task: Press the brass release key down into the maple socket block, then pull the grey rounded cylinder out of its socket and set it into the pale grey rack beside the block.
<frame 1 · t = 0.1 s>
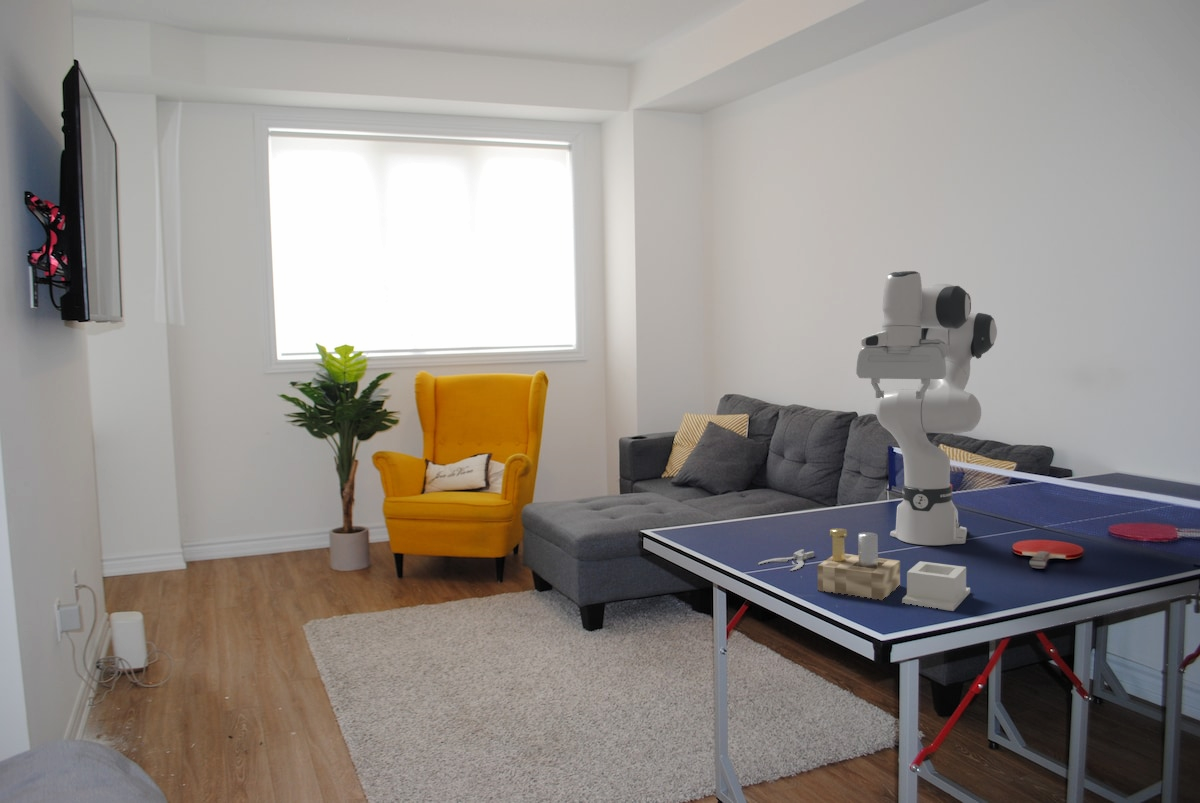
hand: (899, 398, 213), 39 cm above the table, tool pointing down, fingers open, 8 cm apart
release key: (838, 548, 198), point 8 cm above the table, slide at 0.0 cm
pliers: (791, 563, 219), on the table
drill rack: (936, 597, 188), on the table
grey rounded cylinder: (868, 589, 195), resting in socket block
socket block: (859, 587, 196), on the table
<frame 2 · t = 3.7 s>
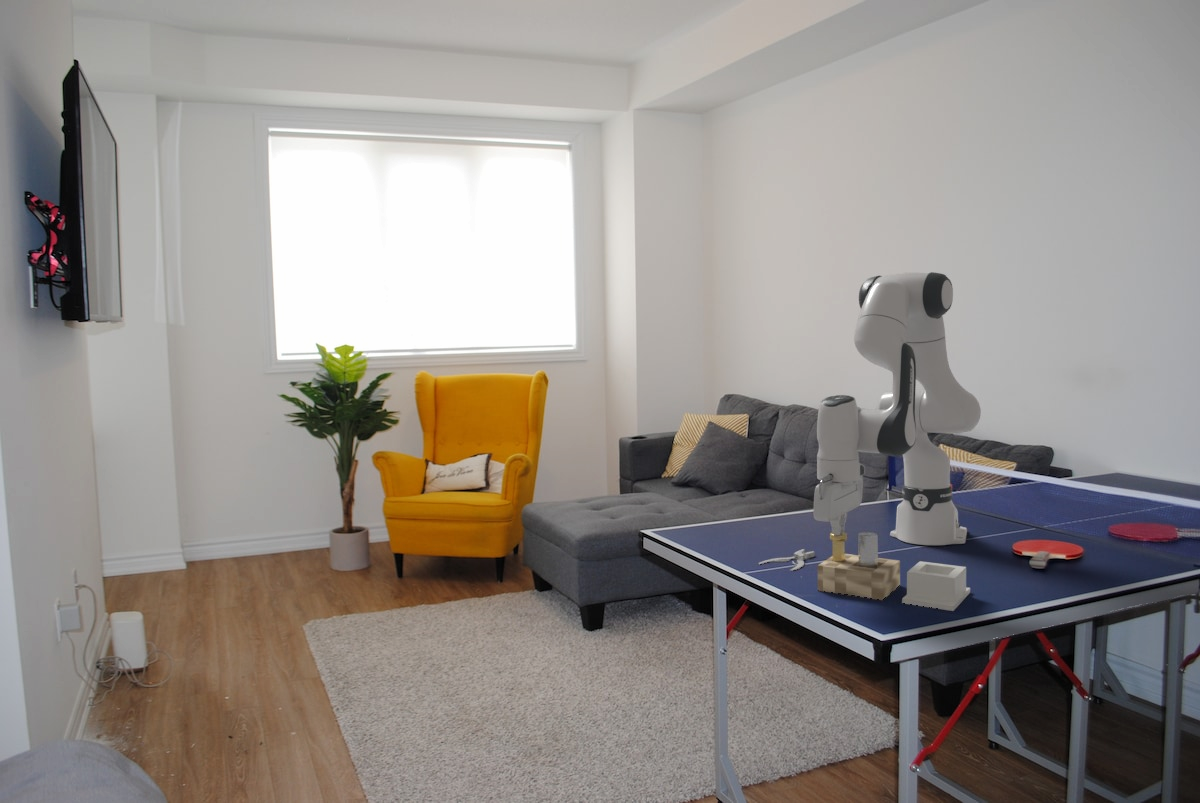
hand: (838, 533, 198), 11 cm above the table, tool pointing down, fingers closed, pressing on release key
release key: (838, 552, 198), point 7 cm above the table, slide at 0.8 cm, touching gripper
everything else where it was.
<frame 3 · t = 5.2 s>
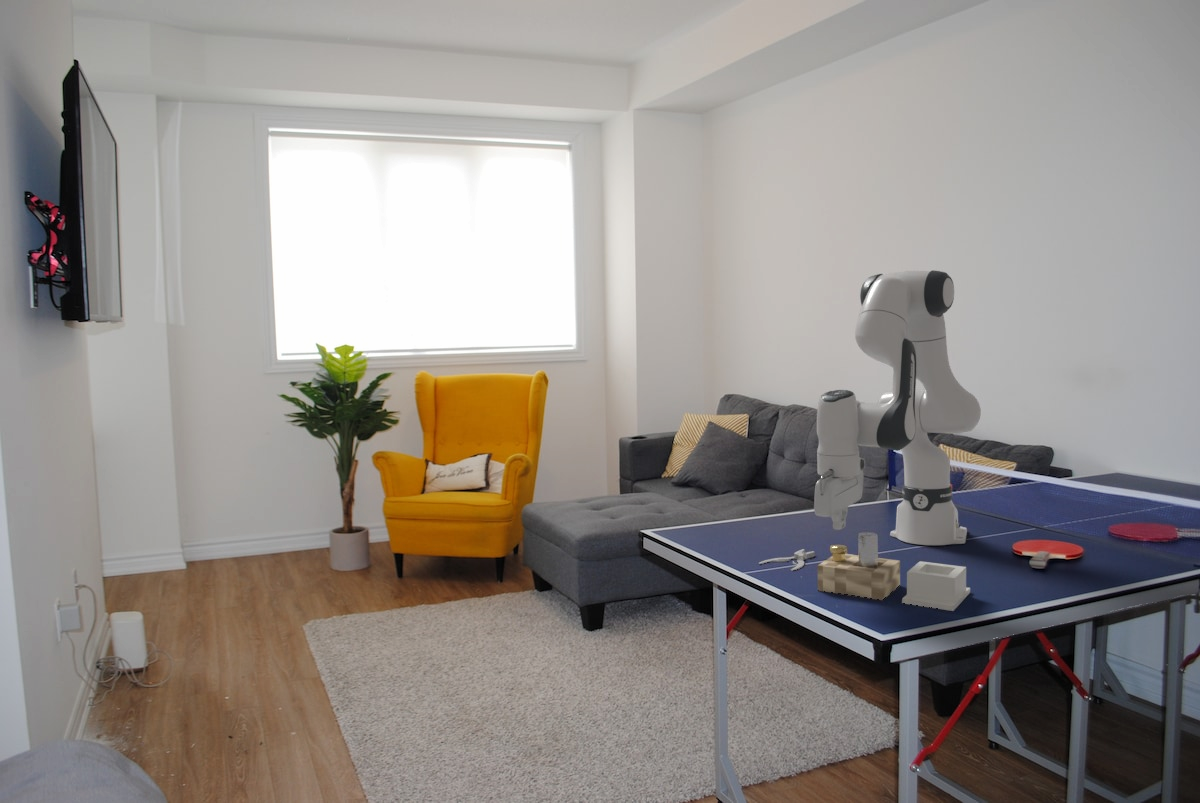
hand: (839, 528, 198), 13 cm above the table, tool pointing down, fingers closed
release key: (838, 565, 198), point 4 cm above the table, slide at 3.7 cm
everything else where it was.
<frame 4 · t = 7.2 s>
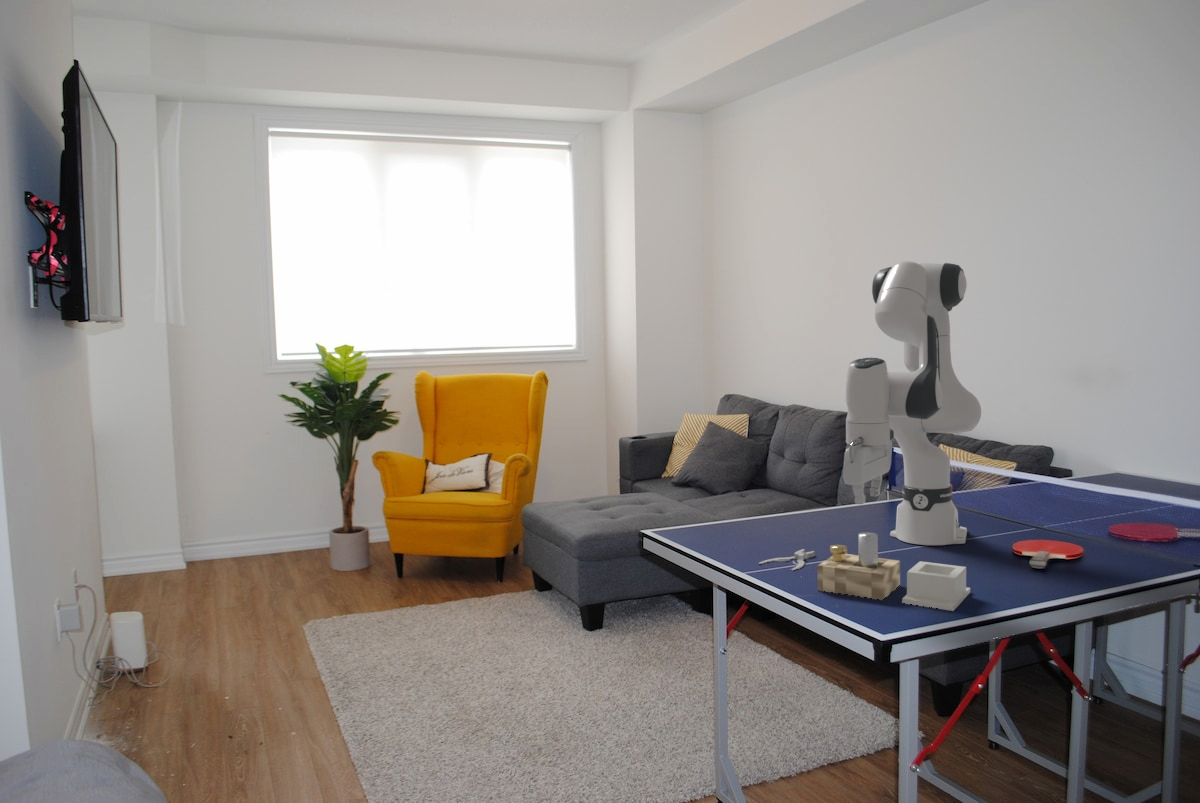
hand: (867, 499, 193), 20 cm above the table, tool pointing down, fingers open, 8 cm apart
nothing on the table moved.
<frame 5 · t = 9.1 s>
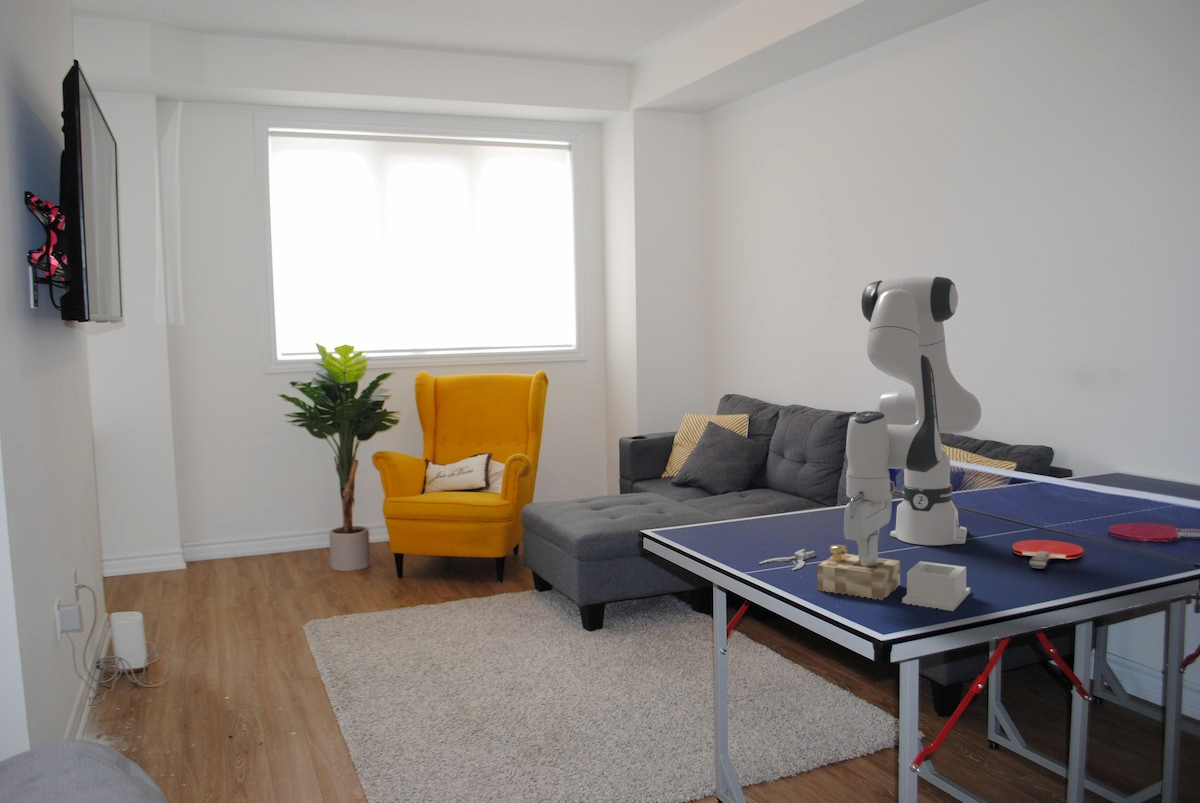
hand: (868, 552, 194), 8 cm above the table, tool pointing down, fingers closed on grey rounded cylinder, 4 cm apart
grey rounded cylinder: (868, 589, 195), resting in socket block, touching gripper
everything else where it was.
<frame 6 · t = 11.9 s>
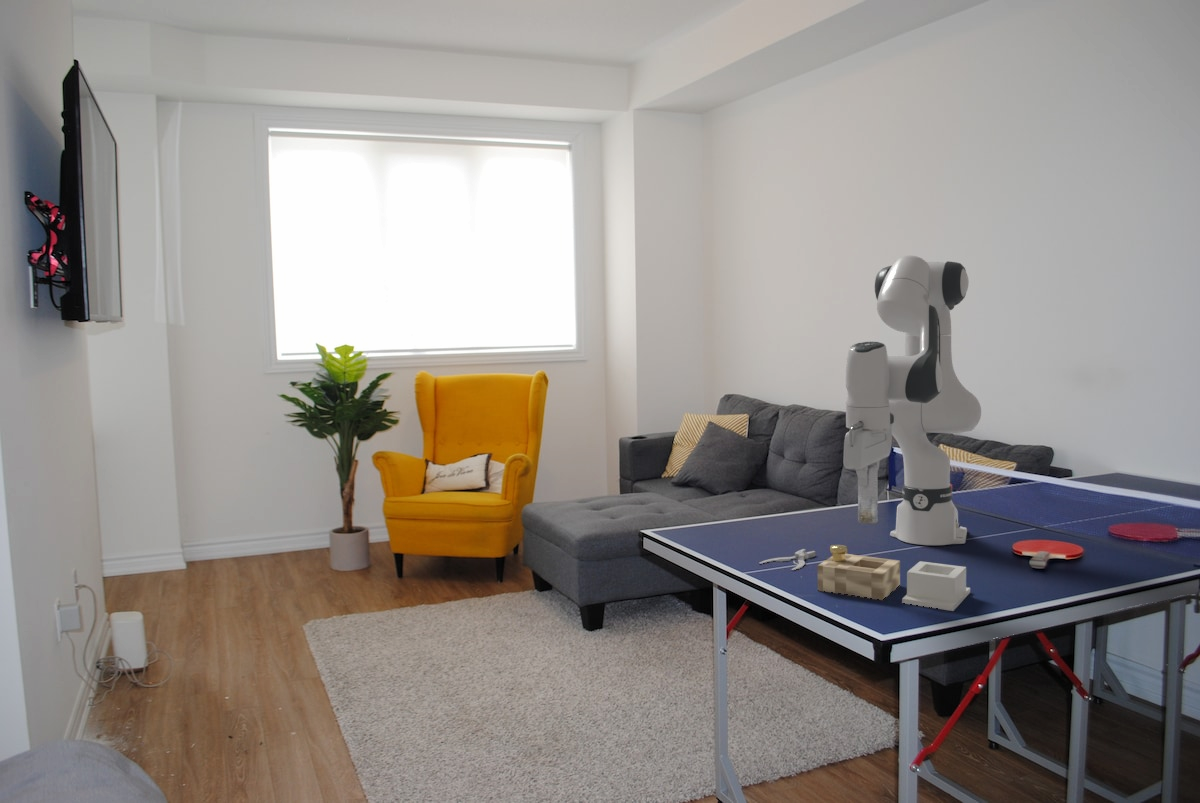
hand: (867, 483, 193), 23 cm above the table, tool pointing down, fingers closed on grey rounded cylinder, 4 cm apart
grey rounded cylinder: (867, 521, 194), point 15 cm above the table, touching gripper
everything else where it was.
when the fingers open (11 cm above the table, at t = 15.0 s): grey rounded cylinder drops 1 cm, resting on drill rack.
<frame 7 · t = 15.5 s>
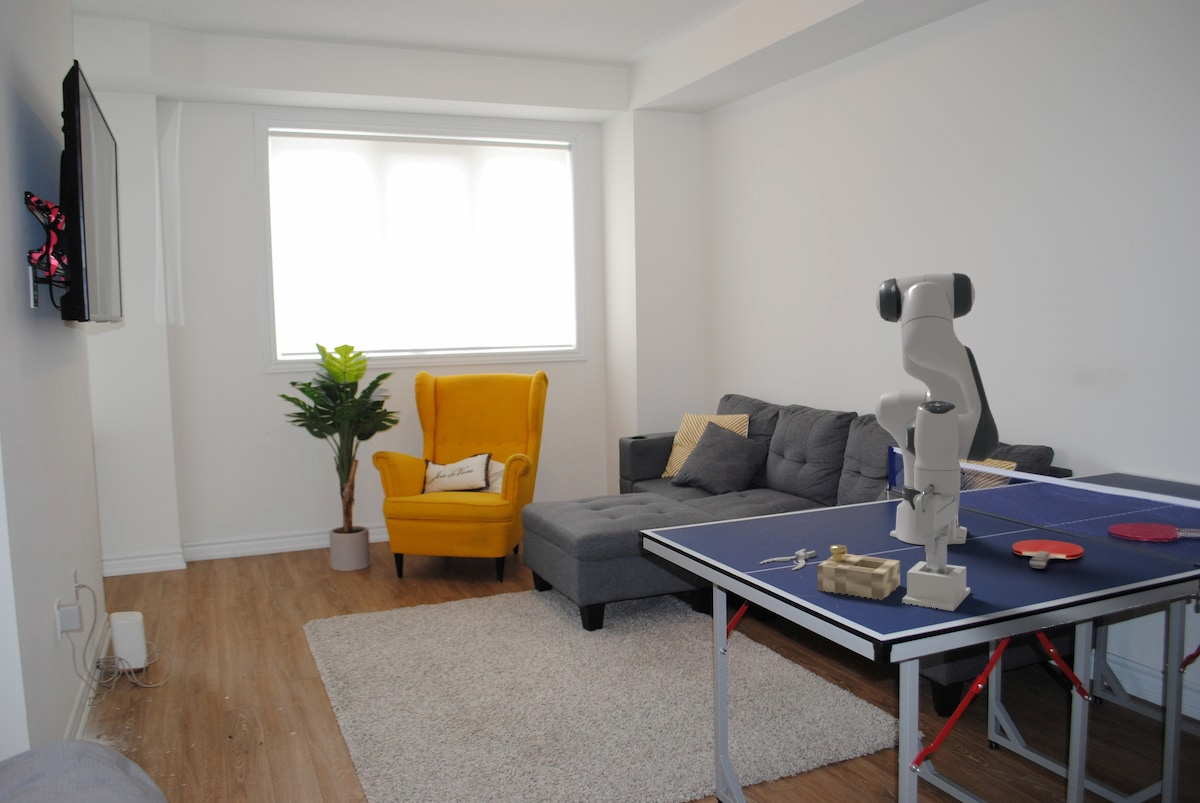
hand: (936, 547, 187), 11 cm above the table, tool pointing down, fingers open, 8 cm apart
grey rounded cylinder: (936, 592, 188), point 1 cm above the table, touching drill rack
everything else where it was.
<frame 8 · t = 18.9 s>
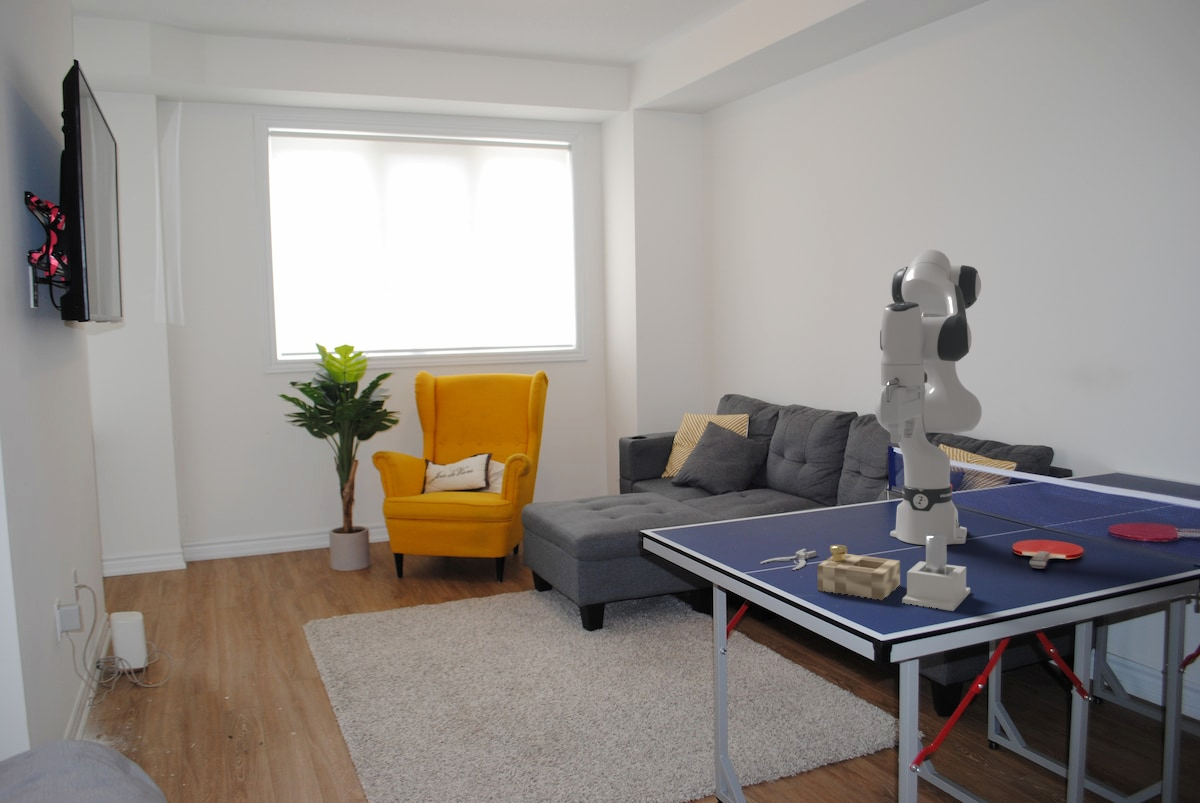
hand: (902, 440, 199), 31 cm above the table, tool pointing down, fingers open, 8 cm apart
nothing on the table moved.
at the end: release key slide at 3.7 cm; grey rounded cylinder 0.0 cm off-centre on the drill rack, point 1.0 cm above the drill rack's base; grey rounded cylinder tilted 1° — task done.
